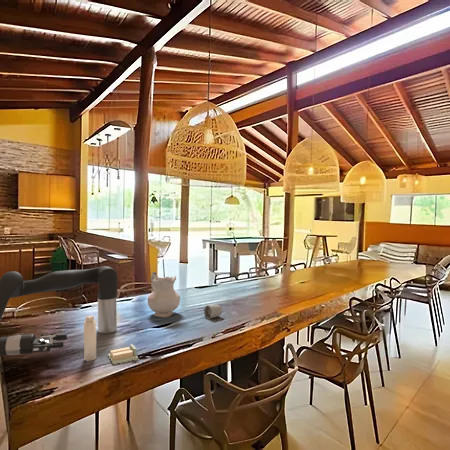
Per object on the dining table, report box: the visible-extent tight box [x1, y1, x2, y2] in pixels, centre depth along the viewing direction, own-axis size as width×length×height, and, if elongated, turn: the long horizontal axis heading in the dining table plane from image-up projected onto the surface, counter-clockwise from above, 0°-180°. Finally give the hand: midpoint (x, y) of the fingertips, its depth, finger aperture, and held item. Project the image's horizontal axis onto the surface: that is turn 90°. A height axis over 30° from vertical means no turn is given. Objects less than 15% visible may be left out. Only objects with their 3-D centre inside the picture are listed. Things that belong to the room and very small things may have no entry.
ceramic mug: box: [203, 304, 222, 320], centre depth 207 cm, size 11×8×8 cm
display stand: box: [107, 343, 139, 365], centre depth 149 cm, size 10×10×4 cm
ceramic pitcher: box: [147, 271, 181, 319], centre depth 211 cm, size 22×20×25 cm
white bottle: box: [83, 315, 97, 362], centre depth 148 cm, size 5×5×18 cm
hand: (65, 340), depth 145 cm, fingers open, 8 cm apart
